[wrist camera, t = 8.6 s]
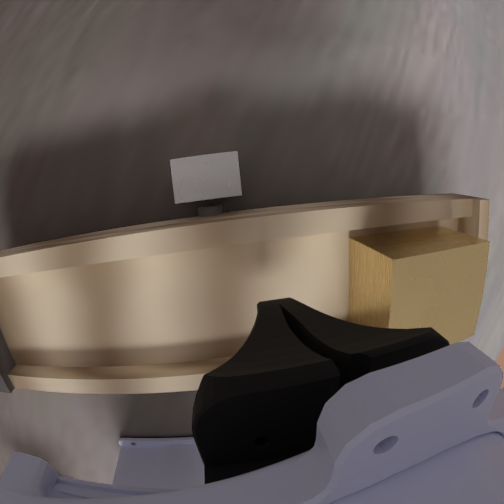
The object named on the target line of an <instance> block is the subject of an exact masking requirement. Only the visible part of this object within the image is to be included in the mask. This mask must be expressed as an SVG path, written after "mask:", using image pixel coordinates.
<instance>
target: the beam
mask: <svg viewBox="0 0 504 504" xmlns="http://www.w3.org/2000/svg"><path fill="white" fill-rule="evenodd" d="M433 226H442V227H445V228H449V229H452V230H456V231H459V232H462V233H465V234H469V235H472V236H475V237H478V238H481V239H484V240H487V241H488V226H489V199H484V198H478V197H472V196H466V195H460V194H453V193H452V194H429V195H410V196H394V197H378V198H365V199H352V200H340V201H328V202H317V203H306V204H296V205H286V206H277V207H268V208H259V209H250V210H242V211H233V212H225V213H223V205H222V204H214V205H206V206H201V207H198V216H195V217H187V218H180V219H173V220H166V221H160V222H153V223H146V224H140V225H134V226H127V227H121V228H115V229H109V230H103V231H98V232H92V233H86V234H81V235H75V236H70V237H64V238H59V239H54V240H49V241H44V242H39V243H34V244H29V245H24V246H19V247H15V248H10V249H5V250H1V251H0V392H6V393H11V392H12V391H13V389H14V388H20V389H29V390H38V391H49V392H63V393H83V394H144V393H165V392H180V391H192V390H198V388H199V385H200V383H201V380H202V377H203V376H204V375H205V374H207V373H209V372H211V371H212V370H214V369H216V368H218V367H219V366H221V365H222V364H224V363H225V362H227V361H228V360H229V359H231V358H232V357H233V356H234V355H235V354H236V353H237V352H238V350H239V349H240V348H241V347H242V346H243V344H244V343H245V341H246V340H247V338H248V336H249V334H250V333H251V330H252V328H253V326H254V323H255V320H256V317H257V304H258V303H259V302H261V301H268V300H275V299H282V298H289V297H290V298H293V299H295V300H297V301H299V302H301V303H303V304H305V305H307V306H309V307H311V308H313V309H315V310H318V311H320V312H322V313H324V314H327V315H329V316H332V317H335V318H338V319H341V320H344V321H348V307H349V237H355V236H363V235H370V234H378V233H386V232H394V231H402V230H409V229H417V228H425V227H433Z"/></svg>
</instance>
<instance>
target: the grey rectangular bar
mask: <svg viewBox="0 0 504 504" xmlns="http://www.w3.org/2000/svg"><path fill="white" fill-rule="evenodd" d="M170 166H171V175H172V183H173V191H174V199H175V204H178V203H185V202H192V201H200V200H207V199H215V198H223V197H231V196H240V195H242V190H241V180H240V171H239V161H238V152H237V151H231V152H222V153H214V154H206V155H198V156H191V157H184V158H177V159H171V160H170Z"/></svg>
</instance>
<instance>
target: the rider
mask: <svg viewBox="0 0 504 504" xmlns="http://www.w3.org/2000/svg"><path fill="white" fill-rule="evenodd" d="M489 242H490V241H487V240H484V239H481V238H478V237H475V236H472V235H469V234H465V233H462V232H459V231H456V230H452V229H449V228H445V227H442V226H433V227H425V228H417V229H409V230H402V231H394V232H386V233H378V234H370V235H363V236H355V237H349V307H348V322H351V323H355V324H360V325H365V326H372V327H379V328H394V329H411V328H426V327H432V328H433V329H434V330H435V331H437V332H438V333H439V334H440V335H442V336H443V337H444V338H445V339H447V340H448V342H449V344H450V345H451V344H454V343H457V342H460V341H462V340H464V339H466V338H469V337H471V336H473V335H474V333H475V329H476V324H477V320H478V316H479V311H480V306H481V301H482V295H483V289H484V283H485V277H486V269H487V261H488V252H489Z"/></svg>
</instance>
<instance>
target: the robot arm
mask: <svg viewBox="0 0 504 504" xmlns="http://www.w3.org/2000/svg"><path fill="white" fill-rule="evenodd" d="M502 379H503V372H502V370H501V368H500V366H499V365H498V364H497V363H496V362H494V361H493V360H492V359H491V358H489V357H488V356H487V355H485V354H484V353H483V352H481V351H480V350H479V349H478V348H476V347H475V346H474V345H472V344H471V343H470V342H459V343H454V344H451V345H450V344H449V342H448V340H447V339H445V338H444V337H443V336H442V335H440V334H439V333H438V332H437V331H435V330H434V329H433V328H432V327H426V328H411V329H394V328H379V327H372V326H365V325H360V324H355V323H351V322H348V321H344V320H341V319H338V318H335V317H332V316H329V315H327V314H324V313H322V312H320V311H318V310H315V309H313V308H311V307H309V306H307V305H305V304H303V303H301V302H299V301H297V300H295V299H293V298H290V297H289V298H282V299H275V300H268V301H261V302H259V303H258V304H257V317H256V320H255V323H254V326H253V328H252V330H251V333H250V334H249V336H248V338H247V340H246V341H245V343H244V344H243V346H242V347H241V348H240V349H239V350H238V352H237V353H236V354H235V355H234V356H233V357H232V358H231V359H229V360H228V361H227V362H225V363H224V364H222V365H221V366H219V367H218V368H216V369H214V370H212V371H211V372H209V373H207V374H205V375H204V376H203V377H202V380H201V383H200V385H199V388H198V391H197V394H196V398H195V402H194V407H193V414H192V432H193V437H183V438H120V439H119V444H120V446H121V451H120V455H119V459H118V463H117V467H116V471H115V475H114V480H113V484H112V485H110V484H103V483H96V482H90V481H84V480H78V479H73V478H68V477H64V476H59V475H58V474H57V473H56V471H55V470H54V469H53V467H52V466H51V465H50V464H49V463H48V462H46V461H45V460H43V459H42V458H39V457H36V456H32V455H28V454H25V453H21V452H18V451H14V452H13V454H12V456H11V458H10V460H9V461H8V463H7V465H6V467H5V469H4V471H3V473H2V476H1V478H0V504H504V388H502V389H500V387H501V383H502Z"/></svg>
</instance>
